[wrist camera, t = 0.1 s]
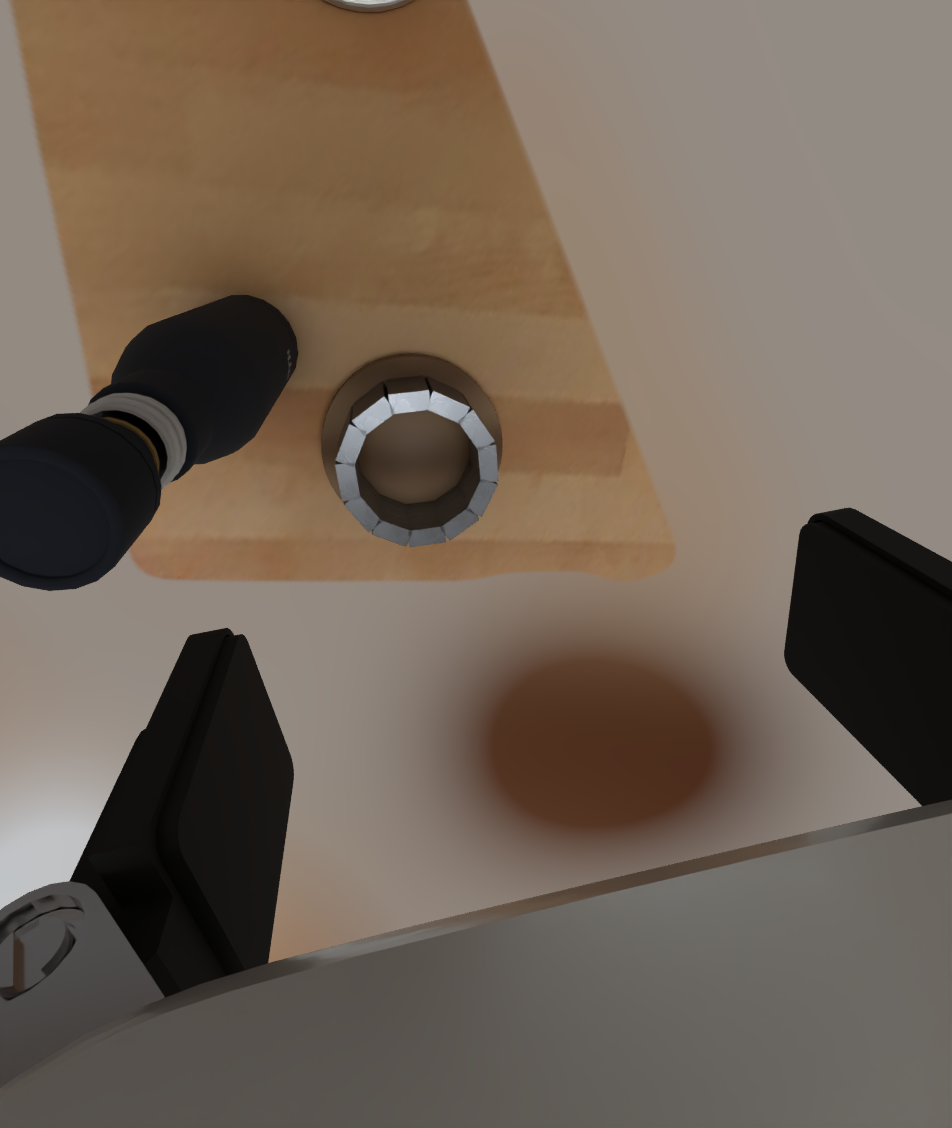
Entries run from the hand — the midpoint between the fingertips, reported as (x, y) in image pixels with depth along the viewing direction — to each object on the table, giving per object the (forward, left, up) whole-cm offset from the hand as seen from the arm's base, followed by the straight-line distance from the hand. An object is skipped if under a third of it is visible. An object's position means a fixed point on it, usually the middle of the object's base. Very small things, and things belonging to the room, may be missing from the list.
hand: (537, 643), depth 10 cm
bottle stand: (+7, -1, -37) cm, 38 cm away
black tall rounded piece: (-1, -11, -37) cm, 39 cm away
